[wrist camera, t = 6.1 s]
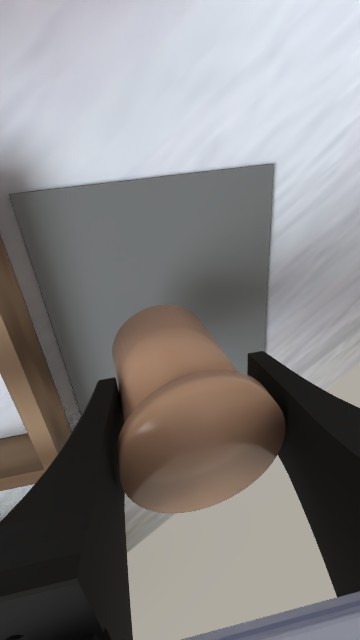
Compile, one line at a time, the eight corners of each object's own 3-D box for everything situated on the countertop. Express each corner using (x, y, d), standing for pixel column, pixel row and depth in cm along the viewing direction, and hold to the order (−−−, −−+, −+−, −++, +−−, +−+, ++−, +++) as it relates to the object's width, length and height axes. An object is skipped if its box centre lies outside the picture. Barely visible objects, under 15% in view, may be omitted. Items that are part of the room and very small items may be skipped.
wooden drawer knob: (215, 378, 16) (278, 482, 11) (114, 404, 15) (134, 532, 10) (213, 285, 14) (293, 367, 9) (91, 309, 13) (103, 418, 8)
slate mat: (261, 388, 22) (262, 390, 22) (85, 422, 21) (84, 425, 21) (271, 163, 15) (273, 164, 15) (10, 193, 14) (8, 194, 14)
